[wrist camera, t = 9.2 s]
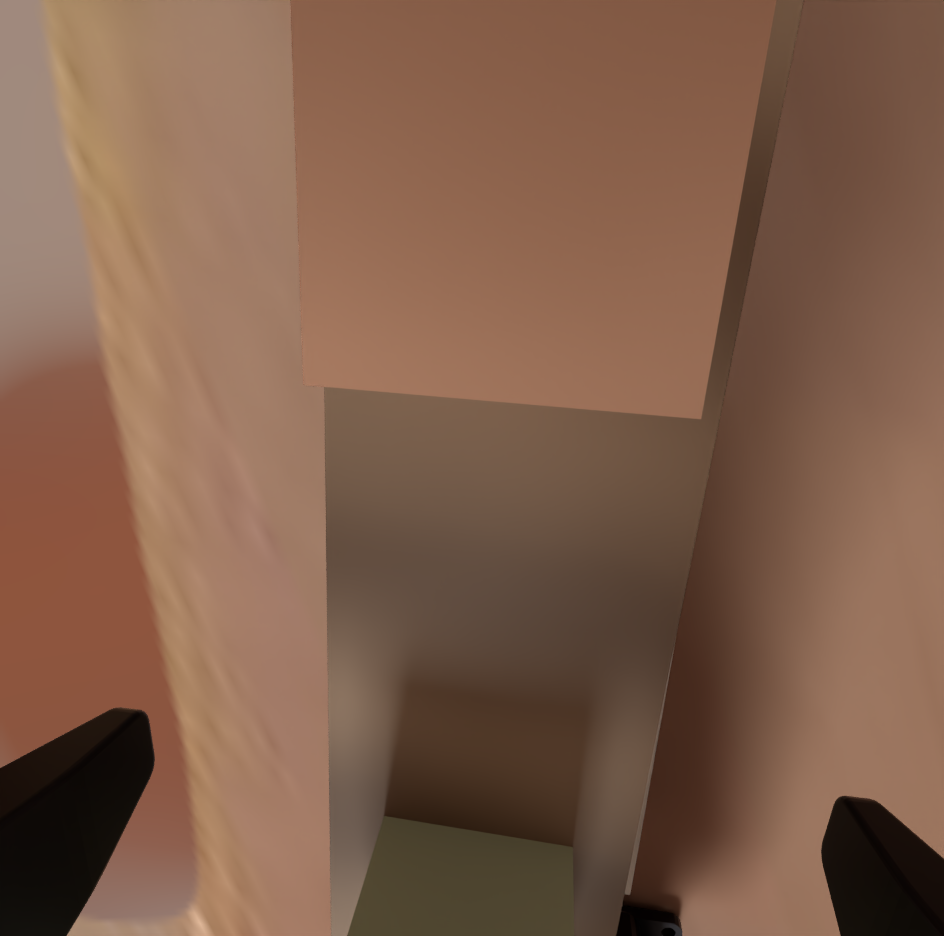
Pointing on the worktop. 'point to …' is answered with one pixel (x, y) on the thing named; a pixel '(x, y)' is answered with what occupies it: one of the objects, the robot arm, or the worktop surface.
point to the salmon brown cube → (521, 194)
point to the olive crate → (463, 884)
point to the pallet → (516, 599)
